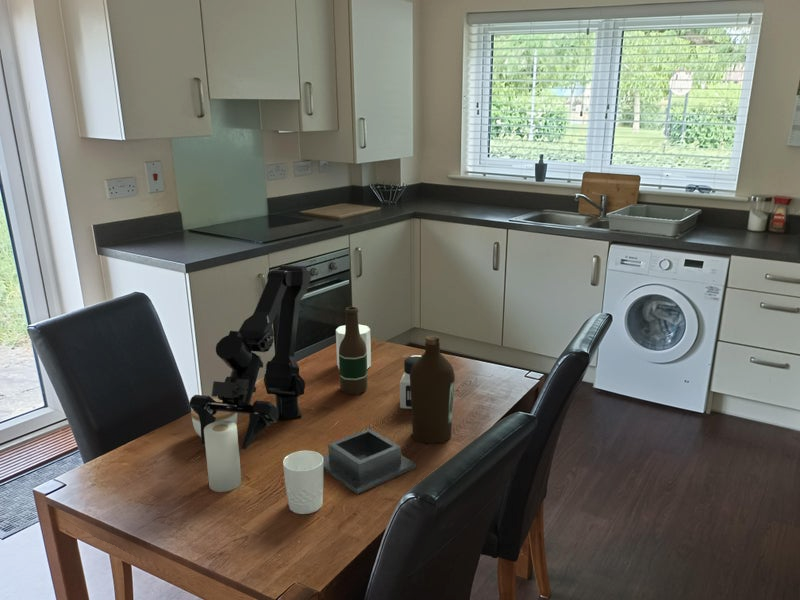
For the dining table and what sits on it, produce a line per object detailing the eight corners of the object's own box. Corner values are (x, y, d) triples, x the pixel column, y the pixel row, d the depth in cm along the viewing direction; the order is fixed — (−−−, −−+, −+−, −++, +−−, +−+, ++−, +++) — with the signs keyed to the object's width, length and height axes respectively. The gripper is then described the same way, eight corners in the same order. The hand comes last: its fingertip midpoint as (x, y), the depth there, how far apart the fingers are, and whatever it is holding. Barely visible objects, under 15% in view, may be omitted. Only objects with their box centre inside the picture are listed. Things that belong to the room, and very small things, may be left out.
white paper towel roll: (208, 477, 143) (203, 422, 139) (240, 472, 144) (235, 418, 141) (209, 494, 137) (204, 437, 133) (242, 488, 138) (237, 432, 135)
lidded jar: (185, 437, 160) (181, 402, 158) (223, 422, 168) (220, 388, 165) (209, 452, 153) (205, 415, 151) (248, 436, 161) (245, 400, 158)
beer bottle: (373, 387, 188) (371, 306, 181) (357, 397, 181) (354, 314, 175) (351, 382, 192) (348, 302, 185) (334, 391, 185) (331, 309, 179)
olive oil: (411, 445, 155) (410, 345, 148) (409, 425, 166) (408, 330, 159) (456, 444, 156) (458, 344, 149) (451, 424, 166) (452, 329, 159)
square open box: (314, 463, 148) (313, 443, 147) (371, 440, 158) (371, 421, 156) (357, 494, 136) (356, 472, 135) (415, 467, 146) (415, 447, 145)
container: (428, 410, 173) (428, 364, 170) (399, 408, 175) (399, 362, 171) (433, 398, 181) (433, 353, 177) (405, 396, 182) (405, 352, 178)
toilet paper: (340, 359, 209) (339, 323, 205) (373, 360, 208) (372, 324, 204) (334, 372, 199) (332, 334, 196) (368, 373, 198) (367, 335, 195)
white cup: (308, 521, 128) (305, 475, 125) (277, 508, 132) (274, 463, 129) (333, 501, 134) (331, 456, 131) (303, 489, 138) (300, 446, 135)
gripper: (188, 359, 141) (165, 430, 134) (270, 366, 137) (250, 439, 130) (210, 380, 151) (189, 447, 143) (287, 387, 147) (269, 456, 139)
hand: (223, 447), depth 139 cm, fingers open, 9 cm apart
